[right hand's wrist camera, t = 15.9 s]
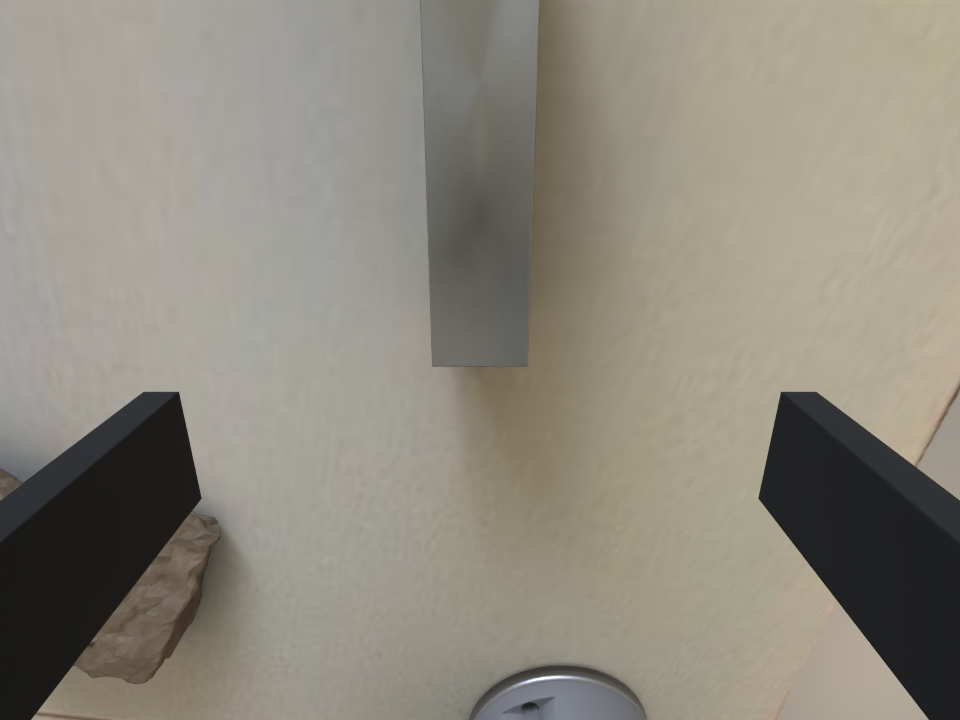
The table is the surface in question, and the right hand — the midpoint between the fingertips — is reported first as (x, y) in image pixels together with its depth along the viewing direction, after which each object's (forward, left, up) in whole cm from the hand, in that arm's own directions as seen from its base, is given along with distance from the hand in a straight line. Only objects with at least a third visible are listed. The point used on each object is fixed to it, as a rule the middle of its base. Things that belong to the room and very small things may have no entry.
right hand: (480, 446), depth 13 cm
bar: (+8, +3, -23) cm, 24 cm away
